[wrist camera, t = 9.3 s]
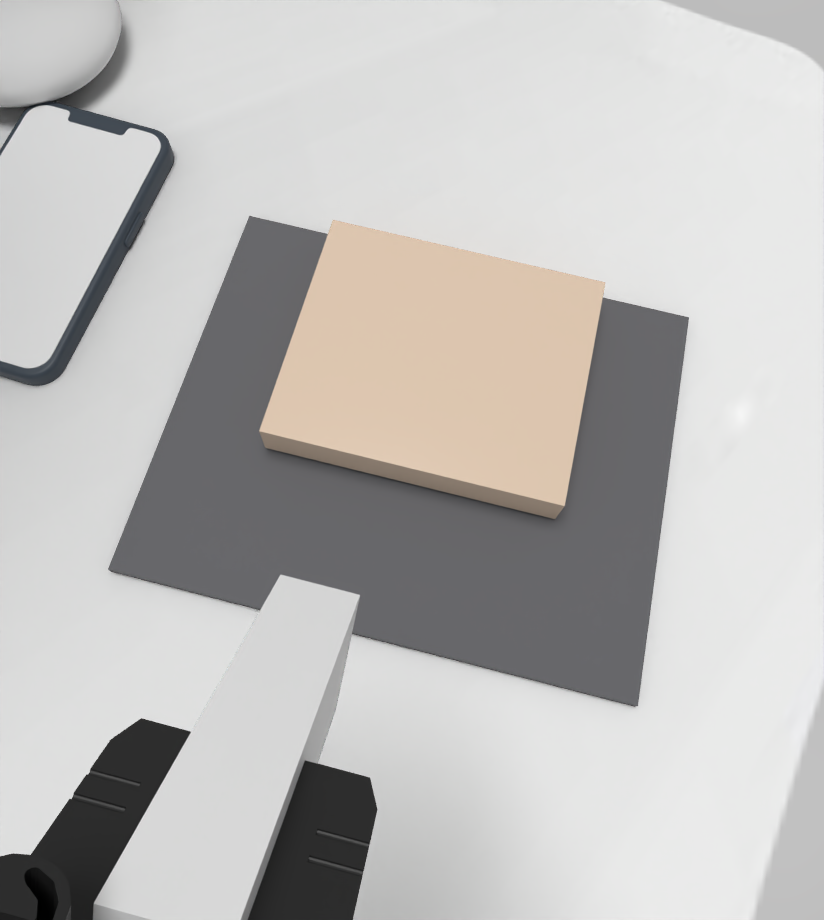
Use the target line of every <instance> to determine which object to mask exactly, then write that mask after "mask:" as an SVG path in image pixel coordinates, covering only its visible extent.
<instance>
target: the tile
mask: <svg viewBox="0 0 824 920" xmlns="http://www.w3.org/2000/svg"><path fill="white" fill-rule="evenodd" d="M604 287H605V282H601V281H597V280H592V279H588V278H584V277H579V276H575V275H571V274H566V273H562V272H557V271H553V270H549V269H544V268H540V267H536V266H531V265H527V264H523V263H518V262H514V261H510V260H505V259H501V258H497V257H492V256H488V255H484V254H479V253H475V252H471V251H466V250H462V249H457V248H453V247H449V246H444V245H440V244H436V243H431V242H427V241H423V240H418V239H414V238H410V237H405V236H401V235H397V234H392V233H388V232H384V231H379V230H375V229H371V228H366V227H362V226H358V225H353V224H349V223H344V222H340V221H336V220H333V221H332V224H331V227H330V230H329V233H328V235H327V238H326V241H325V244H324V247H323V250H322V253H321V256H320V258H319V261H318V264H317V267H316V270H315V273H314V276H313V278H312V281H311V284H310V287H309V290H308V293H307V296H306V298H305V301H304V304H303V307H302V310H301V313H300V316H299V318H298V321H297V324H296V327H295V330H294V333H293V336H292V338H291V341H290V344H289V347H288V350H287V353H286V356H285V358H284V361H283V364H282V367H281V370H280V373H279V376H278V378H277V381H276V384H275V387H274V390H273V393H272V396H271V398H270V401H269V404H268V407H267V410H266V413H265V416H264V418H263V421H262V424H261V427H260V430H259V432H260V435H261V438H262V440H263V443H264V446H265V448H268V449H272V450H276V451H280V452H284V453H289V454H293V455H297V456H301V457H305V458H309V459H313V460H317V461H321V462H325V463H329V464H333V465H337V466H341V467H345V468H349V469H353V470H357V471H362V472H366V473H370V474H374V475H378V476H382V477H386V478H390V479H394V480H398V481H402V482H406V483H410V484H414V485H418V486H422V487H426V488H430V489H435V490H439V491H443V492H447V493H451V494H455V495H459V496H463V497H467V498H471V499H475V500H479V501H483V502H487V503H491V504H495V505H499V506H503V507H508V508H512V509H516V510H520V511H524V512H528V513H532V514H536V515H540V516H544V517H548V518H552V519H555V518H556V517H557V516H558V514H559V513H560V512H561V510H562V509H563V508H564V506H565V502H566V496H567V491H568V485H569V480H570V474H571V469H572V463H573V458H574V452H575V447H576V441H577V436H578V430H579V425H580V419H581V414H582V408H583V403H584V397H585V392H586V386H587V381H588V375H589V370H590V364H591V359H592V353H593V348H594V342H595V337H596V331H597V326H598V320H599V315H600V309H601V304H602V298H603V293H604Z"/></svg>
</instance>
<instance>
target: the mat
mask: <svg viewBox="0 0 824 920" xmlns="http://www.w3.org/2000/svg"><path fill="white" fill-rule="evenodd" d="M327 235H328V234H325V233H321V232H316V231H312V230H308V229H303V228H299V227H295V226H291V225H286V224H282V223H278V222H273V221H269V220H265V219H260V218H256V217H252V216H249V219H248V221H247V224H246V226H245V229H244V231H243V234H242V236H241V238H240V241H239V243H238V246H237V248H236V251H235V253H234V256H233V258H232V261H231V263H230V266H229V268H228V271H227V273H226V276H225V278H224V281H223V283H222V286H221V288H220V291H219V293H218V296H217V298H216V301H215V303H214V306H213V308H212V311H211V313H210V316H209V318H208V321H207V323H206V326H205V328H204V331H203V333H202V336H201V338H200V341H199V343H198V346H197V348H196V351H195V353H194V356H193V358H192V361H191V363H190V366H189V368H188V371H187V373H186V376H185V378H184V381H183V383H182V386H181V388H180V391H179V393H178V396H177V398H176V401H175V403H174V406H173V408H172V411H171V413H170V416H169V418H168V421H167V423H166V426H165V428H164V431H163V433H162V436H161V438H160V441H159V443H158V446H157V448H156V451H155V453H154V456H153V458H152V461H151V463H150V466H149V468H148V471H147V473H146V476H145V478H144V481H143V483H142V486H141V488H140V491H139V493H138V496H137V498H136V501H135V503H134V506H133V508H132V511H131V513H130V516H129V518H128V521H127V523H126V526H125V528H124V531H123V533H122V536H121V538H120V541H119V543H118V546H117V548H116V551H115V553H114V556H113V558H112V561H111V563H110V566H109V568H108V570H110V571H112V572H116V573H119V574H123V575H127V576H131V577H135V578H139V579H143V580H147V581H150V582H154V583H158V584H162V585H166V586H170V587H174V588H178V589H182V590H185V591H189V592H193V593H197V594H201V595H205V596H209V597H213V598H216V599H220V600H224V601H228V602H232V603H236V604H240V605H244V606H247V607H251V608H255V609H259V610H261V608H262V606H263V605H264V603H265V601H266V599H267V597H268V596H269V594H270V592H271V590H272V589H273V587H274V585H275V583H276V582H277V580H278V578H279V576H280V575H285V576H288V577H292V578H296V579H300V580H304V581H308V582H312V583H316V584H319V585H323V586H327V587H331V588H335V589H339V590H343V591H347V592H351V593H354V594H358V595H360V598H359V603H358V607H357V612H356V617H355V621H354V626H353V631H352V634H356V635H360V636H364V637H368V638H372V639H376V640H379V641H383V642H387V643H391V644H395V645H399V646H403V647H407V648H410V649H414V650H418V651H422V652H426V653H430V654H434V655H438V656H442V657H445V658H449V659H453V660H457V661H461V662H465V663H469V664H473V665H476V666H480V667H484V668H488V669H492V670H496V671H500V672H504V673H508V674H511V675H515V676H519V677H523V678H527V679H531V680H535V681H539V682H542V683H546V684H550V685H554V686H558V687H562V688H566V689H570V690H574V691H577V692H581V693H585V694H589V695H593V696H597V697H601V698H605V699H608V700H612V701H616V702H620V703H624V704H628V705H632V706H638V700H639V692H640V685H641V677H642V669H643V662H644V654H645V647H646V639H647V631H648V624H649V616H650V609H651V601H652V593H653V586H654V578H655V571H656V563H657V556H658V548H659V540H660V533H661V525H662V518H663V510H664V502H665V495H666V487H667V480H668V472H669V464H670V457H671V449H672V442H673V434H674V427H675V419H676V411H677V404H678V396H679V389H680V381H681V373H682V366H683V358H684V351H685V343H686V335H687V328H688V320H689V317H684V316H680V315H676V314H671V313H667V312H663V311H658V310H654V309H650V308H645V307H641V306H637V305H632V304H628V303H624V302H619V301H615V300H611V299H606V298H602V304H601V309H600V315H599V320H598V326H597V331H596V337H595V342H594V348H593V353H592V359H591V364H590V370H589V375H588V381H587V386H586V392H585V397H584V403H583V408H582V414H581V419H580V425H579V430H578V436H577V441H576V447H575V452H574V458H573V463H572V469H571V474H570V480H569V485H568V491H567V496H566V502H565V506H564V508H563V509H562V510H561V512H560V513H559V514H558V516H557V517H556V518H555V519H552V518H548V517H544V516H540V515H536V514H532V513H528V512H524V511H520V510H516V509H512V508H508V507H503V506H499V505H495V504H491V503H487V502H483V501H479V500H475V499H471V498H467V497H463V496H459V495H455V494H451V493H447V492H443V491H439V490H435V489H430V488H426V487H422V486H418V485H414V484H410V483H406V482H402V481H398V480H394V479H390V478H386V477H382V476H378V475H374V474H370V473H366V472H362V471H357V470H353V469H349V468H345V467H341V466H337V465H333V464H329V463H325V462H321V461H317V460H313V459H309V458H305V457H301V456H297V455H293V454H289V453H284V452H280V451H276V450H272V449H268V448H265V446H264V443H263V440H262V438H261V435H260V432H259V430H260V427H261V424H262V421H263V418H264V416H265V413H266V410H267V407H268V404H269V401H270V398H271V396H272V393H273V390H274V387H275V384H276V381H277V378H278V376H279V373H280V370H281V367H282V364H283V361H284V358H285V356H286V353H287V350H288V347H289V344H290V341H291V338H292V336H293V333H294V330H295V327H296V324H297V321H298V318H299V316H300V313H301V310H302V307H303V304H304V301H305V298H306V296H307V293H308V290H309V287H310V284H311V281H312V278H313V276H314V273H315V270H316V267H317V264H318V261H319V258H320V256H321V253H322V250H323V247H324V244H325V241H326V238H327Z"/></svg>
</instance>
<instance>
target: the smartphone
mask: <svg viewBox="0 0 824 920" xmlns="http://www.w3.org/2000/svg"><path fill="white" fill-rule="evenodd" d="M173 162H174V155H173V152H172V149H171V146H170V143H169V141H168V139H167V138H166V136H165V135H164V134H163V133H161V132H159V131H157V130H155V129H151V128H148V127H144V126H140V125H137V124H133V123H129V122H126V121H122V120H118V119H115V118H111V117H107V116H104V115H100V114H96V113H93V112H89V111H85V110H82V109H78V108H74V107H71V106H67V105H63V104H59V103H56V102H51V101H49V102H44V103H40V104H35V105H31V106H29V107H28V108H27V109H26V110H25V111H24V112H23V114H22V115H21V117H20V119H19V120H18V122H17V123H16V125H15V127H14V128H13V130H12V131H11V133H10V135H9V136H8V138H7V139H6V141H5V143H4V144H3V146H2V148H1V149H0V376H2V377H5V378H8V379H12V380H15V381H18V382H21V383H25V384H28V385H33V386H39V385H45V384H48V383H50V382H52V381H54V380H55V379H57V378H58V377H59V376H60V375H61V374H62V373H63V371H64V370H65V368H66V366H67V364H68V363H69V361H70V359H71V357H72V355H73V353H74V351H75V349H76V348H77V346H78V344H79V342H80V340H81V338H82V336H83V334H84V333H85V331H86V329H87V327H88V325H89V323H90V321H91V319H92V318H93V316H94V314H95V312H96V310H97V308H98V306H99V304H100V303H101V301H102V299H103V297H104V295H105V293H106V291H107V289H108V288H109V286H110V284H111V282H112V280H113V278H114V276H115V274H116V272H117V271H118V269H119V267H120V265H121V263H122V261H123V259H124V257H125V255H126V253H127V252H128V250H129V248H130V246H131V244H132V242H133V240H134V238H135V236H136V235H137V233H138V231H139V229H140V227H141V225H142V223H143V221H144V219H145V217H146V215H147V213H148V212H149V210H150V208H151V206H152V204H153V202H154V200H155V198H156V196H157V194H158V192H159V190H160V188H161V186H162V184H163V182H164V181H165V179H166V177H167V175H168V173H169V171H170V169H171V167H172V165H173Z"/></svg>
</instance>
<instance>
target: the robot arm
mask: <svg viewBox="0 0 824 920" xmlns="http://www.w3.org/2000/svg"><path fill="white" fill-rule="evenodd" d="M359 598H360V595H358V594H354V593H351V592H347V591H343V590H339V589H335V588H331V587H327V586H323V585H319V584H316V583H312V582H308V581H304V580H300V579H296V578H292V577H288V576H285V575H280V576H279V578H278V580H277V582H276V583H275V585H274V587H273V589H272V590H271V592H270V594H269V596H268V597H267V599H266V601H265V603H264V605H263V606H262V608H261V610H260V612H259V613H258V615H257V617H256V619H255V620H254V622H253V624H252V626H251V627H250V629H249V631H248V633H247V634H246V636H245V638H244V640H243V641H242V643H241V645H240V647H239V649H238V650H237V652H236V654H235V656H234V657H233V659H232V661H231V663H230V664H229V666H228V668H227V670H226V671H225V673H224V675H223V677H222V678H221V680H220V682H219V684H218V685H217V687H216V689H215V691H214V693H213V694H212V696H211V698H210V700H209V701H208V703H207V705H206V707H205V708H204V710H203V712H202V714H201V715H200V717H199V719H198V721H197V722H196V724H195V726H194V728H193V729H192V731H191V732H190V731H186V730H182V729H179V728H175V727H171V726H168V725H164V724H160V723H156V722H153V721H149V720H145V719H142V718H141V719H140V720H138V721H137V722H135V723H134V724H133V725H131V726H130V727H128V728H127V729H125V730H124V731H123V732H121V733H120V734H118V735H117V736H115V737H114V738H113V739H111V740H110V742H109V743H108V744H107V746H106V747H105V749H104V750H103V752H102V753H101V755H100V756H99V757H98V759H97V760H96V762H95V763H94V765H93V766H92V768H91V770H90V773H89V774H88V775H86V776H85V778H84V779H83V780H82V782H81V783H80V785H79V786H78V788H77V789H76V791H75V792H74V795H73V797H72V799H69V801H68V802H67V804H66V805H65V806H64V808H63V809H62V811H61V812H60V814H59V815H58V816H57V818H56V819H55V821H54V822H53V824H52V825H51V827H50V828H49V829H48V831H47V832H46V834H45V835H44V837H43V838H42V840H41V841H40V842H39V844H38V845H37V847H36V848H35V850H34V851H33V852H32V854H31V855H24V854H9V855H5V856H0V920H353V915H354V911H355V906H356V902H357V898H358V893H359V889H360V884H361V880H362V875H363V871H364V866H365V862H366V857H367V853H368V848H369V844H370V840H371V835H372V831H373V826H374V822H375V817H376V813H377V806H376V802H375V798H374V793H373V789H372V785H371V780H370V778H369V777H365V776H362V775H358V774H354V773H350V772H347V771H343V770H339V769H335V768H332V767H328V766H324V765H321V764H318V761H319V758H320V755H321V752H322V749H323V746H324V743H325V740H326V737H327V734H328V731H329V728H330V725H331V722H332V719H333V716H334V713H335V710H336V706H337V701H338V696H339V692H340V687H341V682H342V678H343V673H344V668H345V664H346V659H347V654H348V650H349V645H350V640H351V635H352V631H353V626H354V621H355V617H356V612H357V607H358V603H359Z"/></svg>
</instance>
